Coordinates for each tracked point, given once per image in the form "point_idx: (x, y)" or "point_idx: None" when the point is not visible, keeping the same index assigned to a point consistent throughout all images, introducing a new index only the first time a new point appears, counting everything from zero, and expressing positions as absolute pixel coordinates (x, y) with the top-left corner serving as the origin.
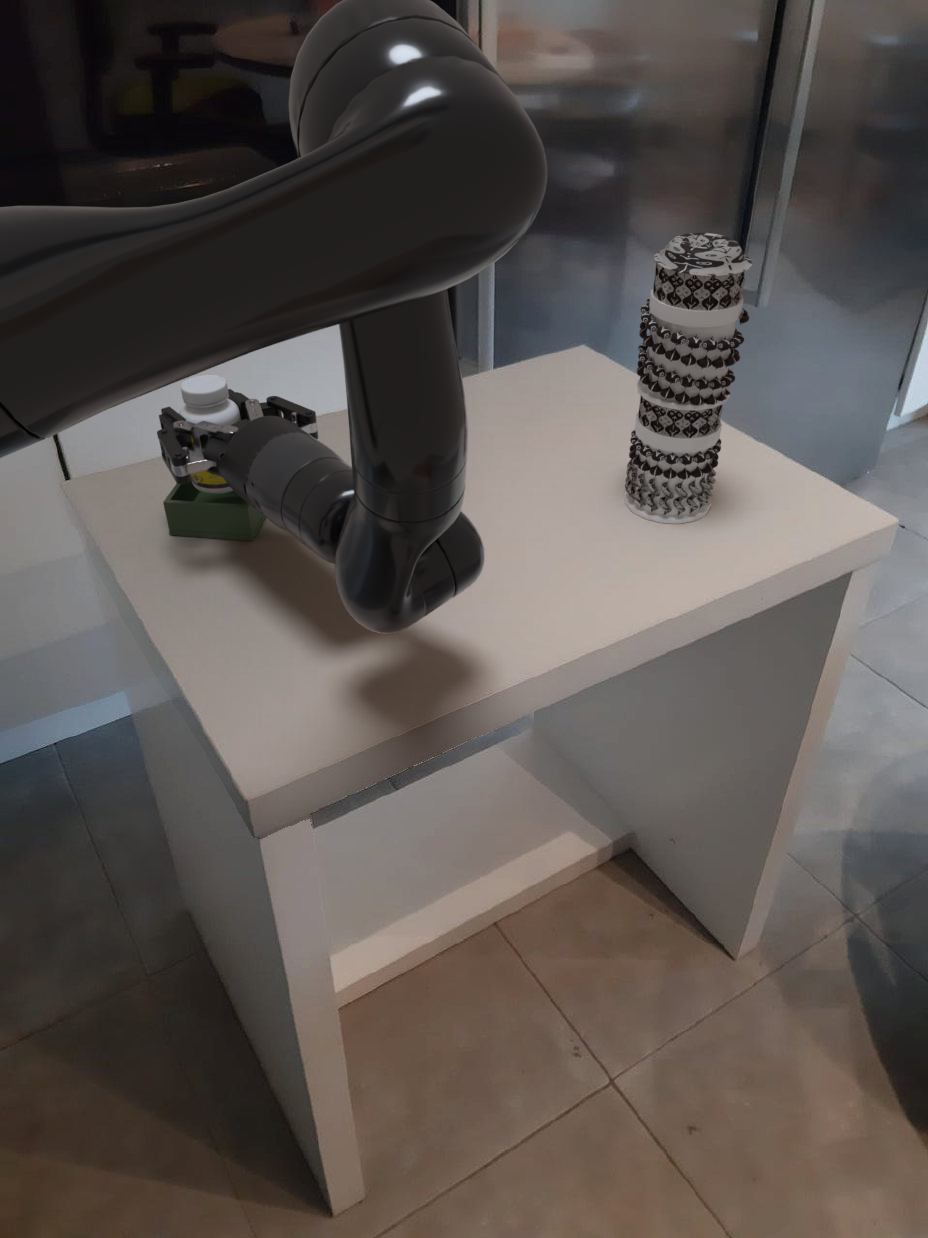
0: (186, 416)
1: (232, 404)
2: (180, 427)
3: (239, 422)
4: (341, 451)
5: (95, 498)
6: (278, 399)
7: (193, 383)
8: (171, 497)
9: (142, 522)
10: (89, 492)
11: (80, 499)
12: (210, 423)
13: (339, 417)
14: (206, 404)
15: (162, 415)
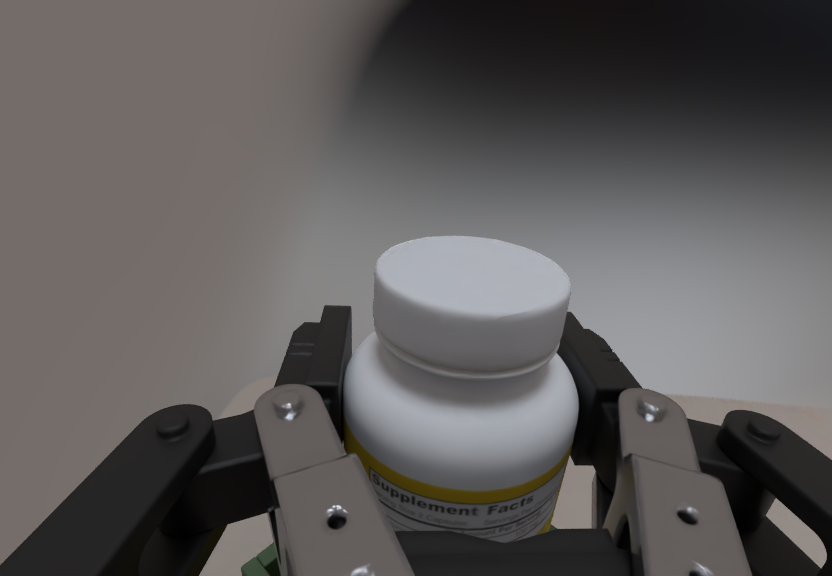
0: (359, 369)
1: (559, 385)
2: (259, 434)
3: (561, 546)
4: (770, 517)
5: (252, 408)
6: (797, 451)
7: (436, 255)
8: (275, 558)
9: (250, 530)
10: (258, 390)
11: (232, 399)
12: (373, 512)
13: (749, 410)
14: (435, 363)
15: (311, 328)
